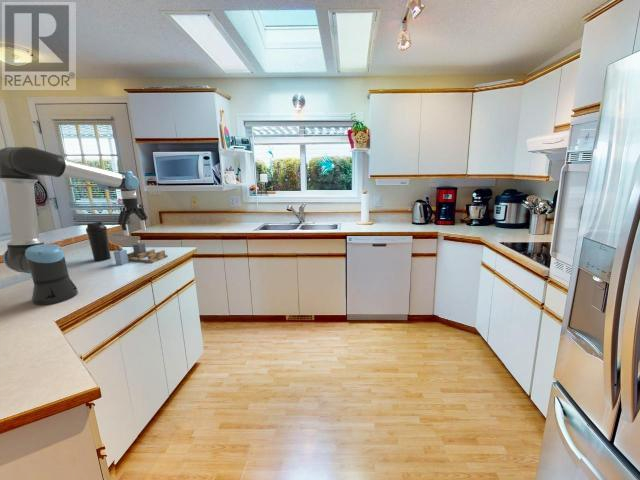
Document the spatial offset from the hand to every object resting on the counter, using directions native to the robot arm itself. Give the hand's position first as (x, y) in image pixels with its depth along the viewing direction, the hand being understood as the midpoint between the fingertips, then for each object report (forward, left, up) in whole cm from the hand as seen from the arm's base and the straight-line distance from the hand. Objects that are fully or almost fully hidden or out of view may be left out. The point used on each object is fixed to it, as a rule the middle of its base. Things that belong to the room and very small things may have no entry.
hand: (135, 233), depth 180 cm
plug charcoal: (+1, 0, -15) cm, 15 cm away
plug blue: (-10, +3, -17) cm, 19 cm away
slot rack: (+1, -4, -16) cm, 17 cm away
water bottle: (-6, +23, -17) cm, 29 cm away
